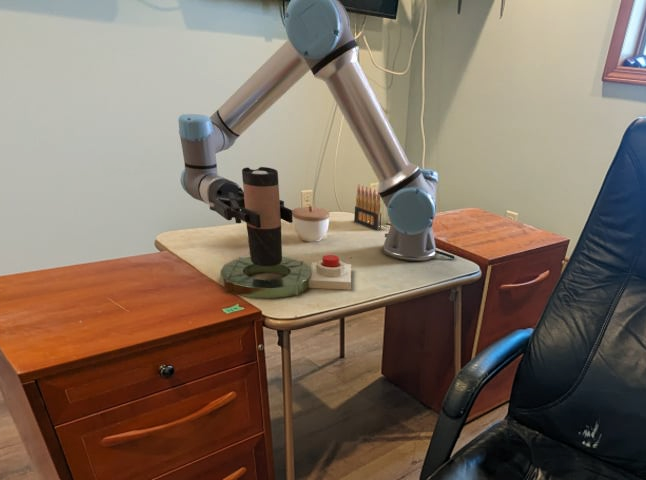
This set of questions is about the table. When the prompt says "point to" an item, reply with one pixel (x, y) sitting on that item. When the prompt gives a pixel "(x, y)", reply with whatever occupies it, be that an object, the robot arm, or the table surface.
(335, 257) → the switch button
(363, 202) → the ammunition clip
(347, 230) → the table surface
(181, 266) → the table surface
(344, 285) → the switch box
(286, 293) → the ring
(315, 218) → the trinket box
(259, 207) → the travel mug
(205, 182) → the robot arm
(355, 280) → the table surface
